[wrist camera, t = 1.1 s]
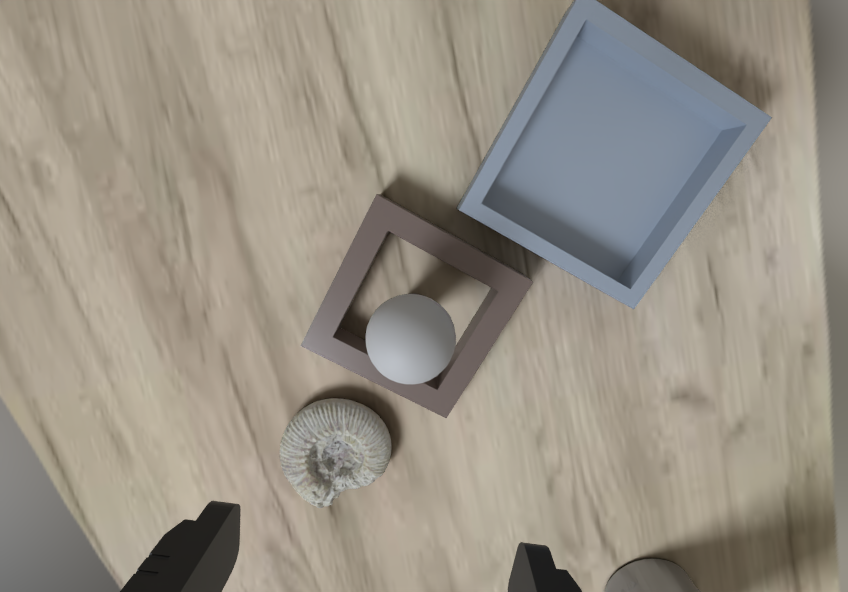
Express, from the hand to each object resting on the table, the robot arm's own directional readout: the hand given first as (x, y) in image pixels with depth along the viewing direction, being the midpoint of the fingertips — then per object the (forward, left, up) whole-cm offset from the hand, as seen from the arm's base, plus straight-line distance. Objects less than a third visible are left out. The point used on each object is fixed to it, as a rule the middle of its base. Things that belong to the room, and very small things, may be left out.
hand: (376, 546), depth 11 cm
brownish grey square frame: (0, 0, -24) cm, 24 cm away
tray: (-7, -17, -24) cm, 30 cm away
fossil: (0, +16, -24) cm, 29 cm away
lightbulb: (0, 0, -24) cm, 24 cm away
